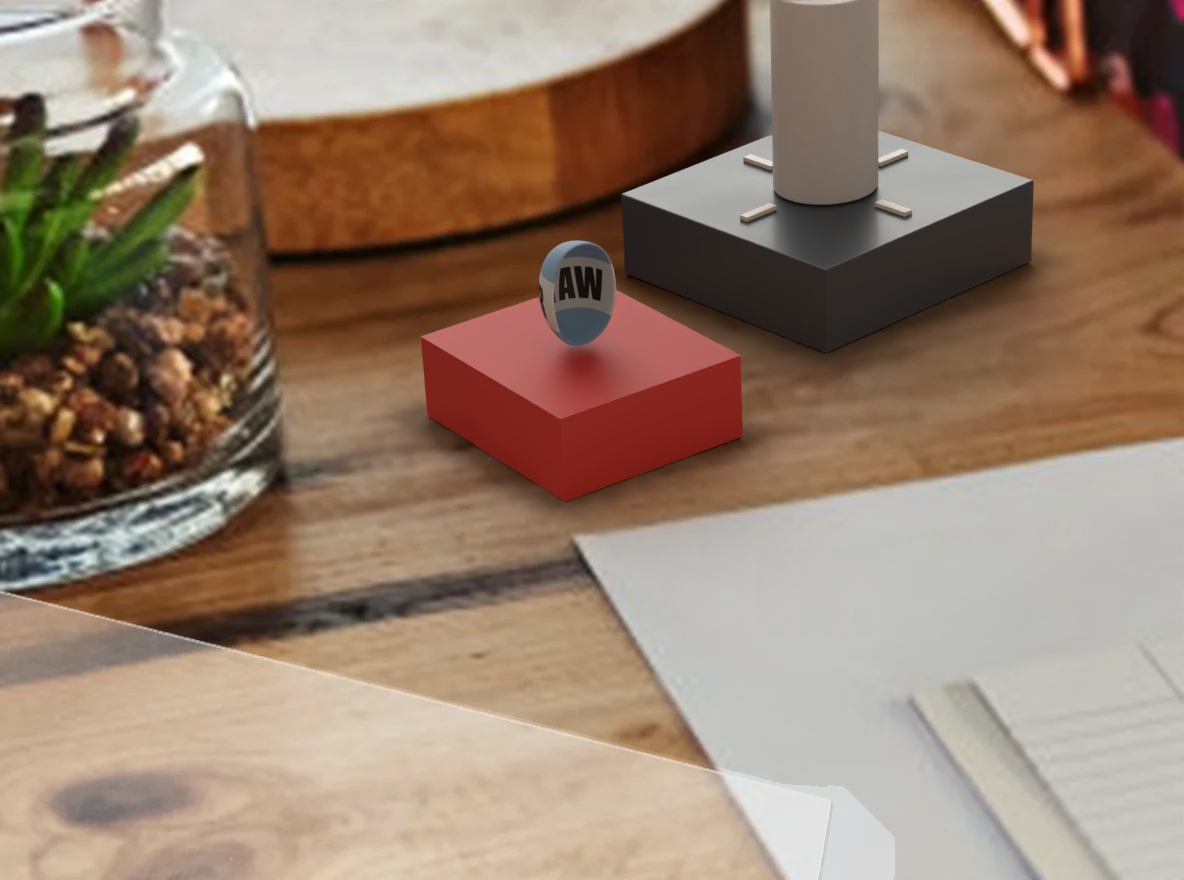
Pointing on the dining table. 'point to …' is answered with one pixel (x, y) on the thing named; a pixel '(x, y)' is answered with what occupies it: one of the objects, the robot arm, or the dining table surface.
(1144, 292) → the dining table surface
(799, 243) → the base
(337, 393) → the dining table surface
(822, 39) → the cylinder
